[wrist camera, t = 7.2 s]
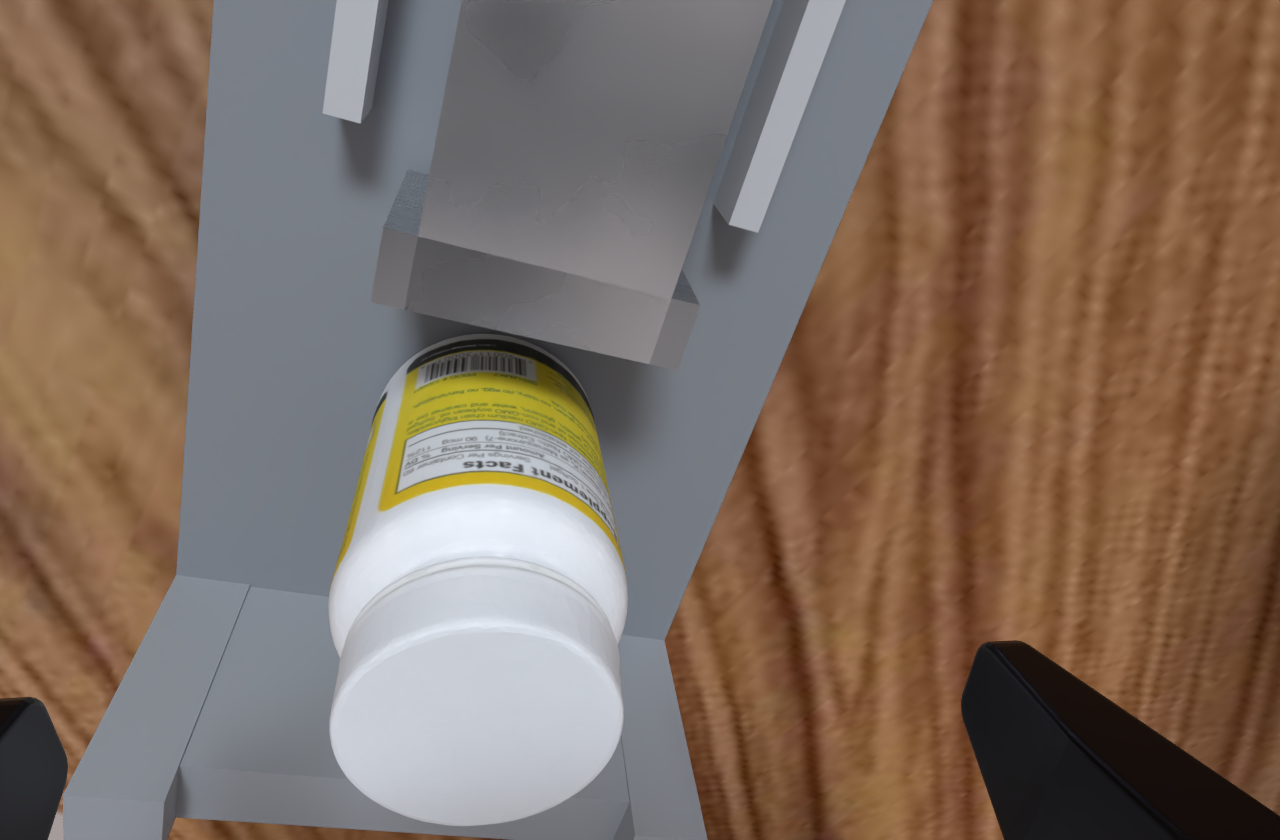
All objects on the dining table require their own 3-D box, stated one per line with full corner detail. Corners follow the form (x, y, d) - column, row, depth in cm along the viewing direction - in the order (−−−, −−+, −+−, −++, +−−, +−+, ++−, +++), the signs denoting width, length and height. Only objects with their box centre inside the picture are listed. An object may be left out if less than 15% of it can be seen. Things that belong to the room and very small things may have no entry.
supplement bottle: (490, 547, 20) (483, 886, 13) (328, 430, 18) (214, 758, 11) (638, 422, 19) (719, 718, 12) (483, 281, 17) (469, 539, 10)
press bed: (989, -209, 15) (1308, -299, 9) (640, 650, 24) (683, 886, 18) (273, -537, 12) (35, -1003, 6) (189, 592, 21) (63, 852, 15)
